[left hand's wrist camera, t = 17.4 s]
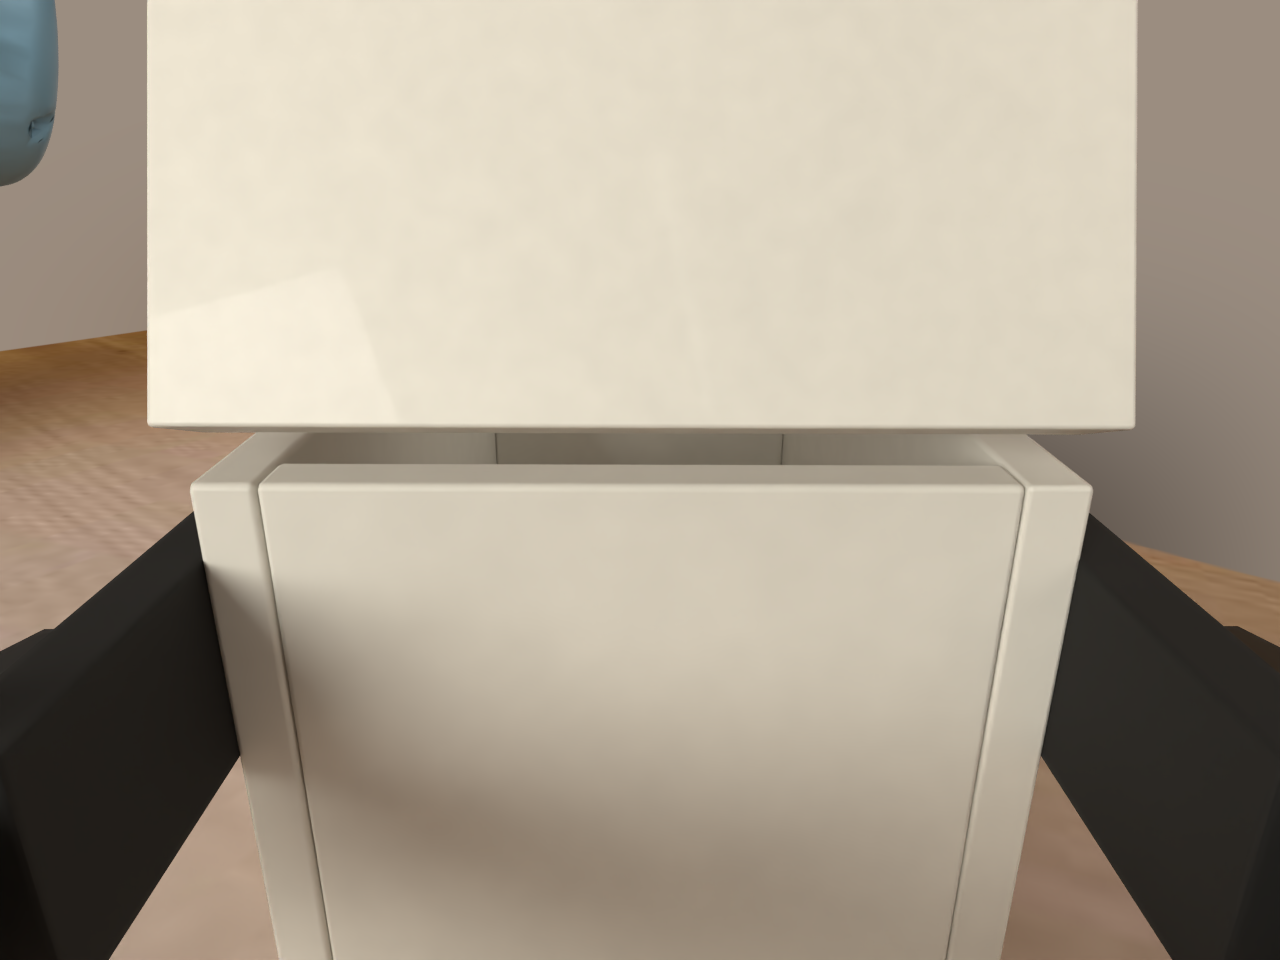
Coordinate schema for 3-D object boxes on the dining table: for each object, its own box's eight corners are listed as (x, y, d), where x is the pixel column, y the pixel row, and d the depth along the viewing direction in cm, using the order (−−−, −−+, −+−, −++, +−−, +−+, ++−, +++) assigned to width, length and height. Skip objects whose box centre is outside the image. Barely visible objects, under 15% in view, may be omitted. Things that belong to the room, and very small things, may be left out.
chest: (482, 564, 29) (462, 267, 26) (794, 564, 29) (816, 268, 26) (297, 1076, 13) (184, 483, 10) (978, 1077, 13) (1096, 486, 10)
